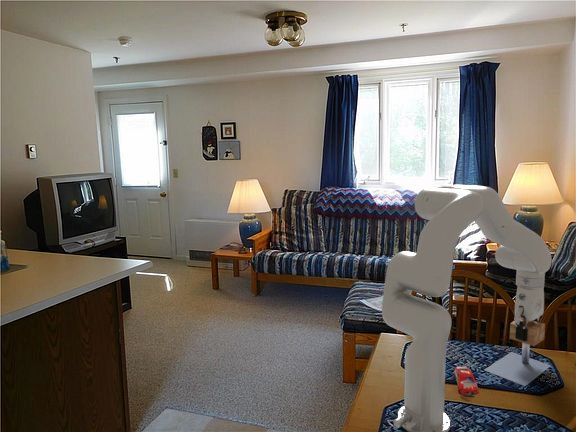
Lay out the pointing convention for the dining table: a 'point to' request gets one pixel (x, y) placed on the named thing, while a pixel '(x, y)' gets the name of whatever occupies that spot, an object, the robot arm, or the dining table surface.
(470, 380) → the race car
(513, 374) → the grey flat plate
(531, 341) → the light brown hollow block
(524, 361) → the white rounded rod
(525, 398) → the dining table surface
